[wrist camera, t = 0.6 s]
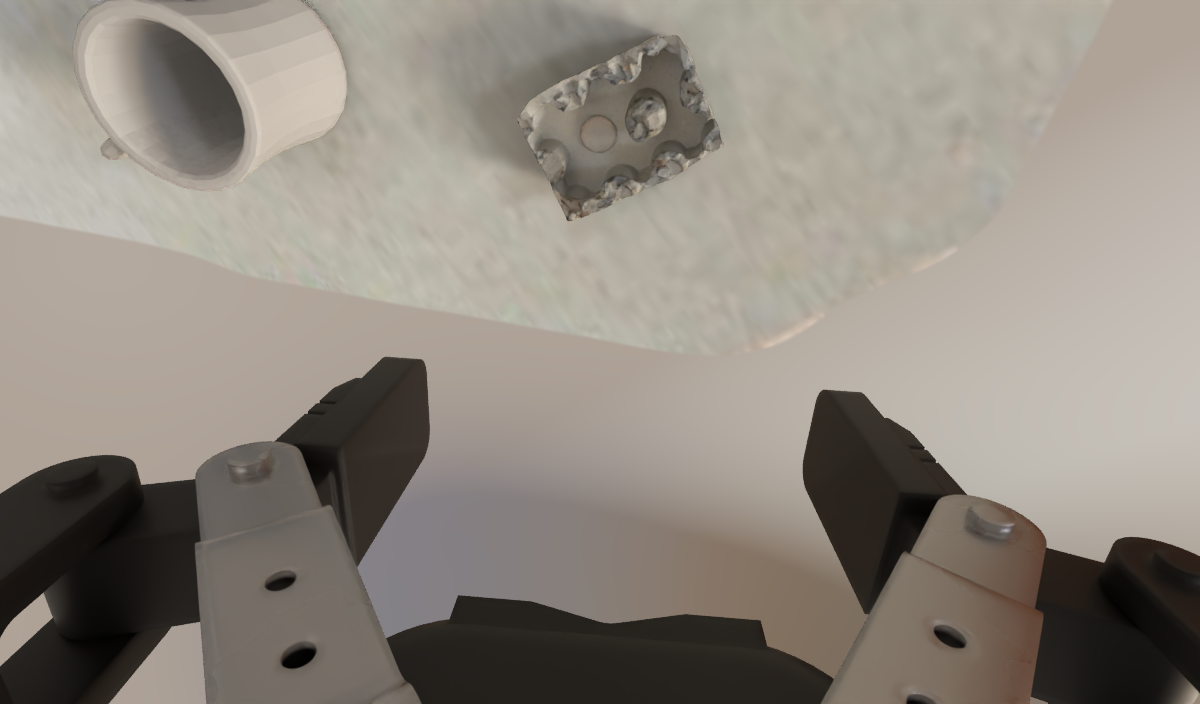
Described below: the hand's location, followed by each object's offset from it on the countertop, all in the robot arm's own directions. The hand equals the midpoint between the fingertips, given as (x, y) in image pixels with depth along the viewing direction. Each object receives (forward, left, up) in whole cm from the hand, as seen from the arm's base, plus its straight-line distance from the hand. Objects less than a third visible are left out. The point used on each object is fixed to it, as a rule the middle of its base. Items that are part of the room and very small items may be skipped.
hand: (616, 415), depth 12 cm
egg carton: (0, -3, -29) cm, 29 cm away
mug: (-14, -21, -29) cm, 38 cm away
